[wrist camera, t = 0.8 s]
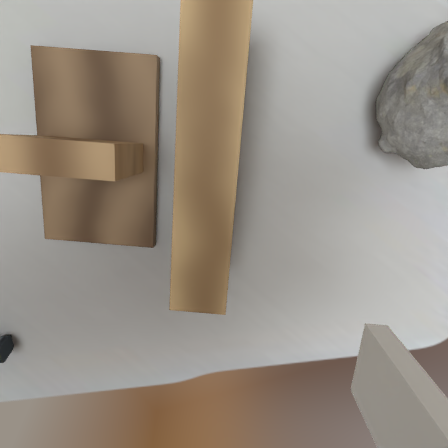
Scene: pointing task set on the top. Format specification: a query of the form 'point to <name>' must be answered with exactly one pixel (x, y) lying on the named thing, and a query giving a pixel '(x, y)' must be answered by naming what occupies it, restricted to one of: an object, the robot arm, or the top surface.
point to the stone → (417, 103)
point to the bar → (207, 149)
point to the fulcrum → (92, 144)
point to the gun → (5, 347)
